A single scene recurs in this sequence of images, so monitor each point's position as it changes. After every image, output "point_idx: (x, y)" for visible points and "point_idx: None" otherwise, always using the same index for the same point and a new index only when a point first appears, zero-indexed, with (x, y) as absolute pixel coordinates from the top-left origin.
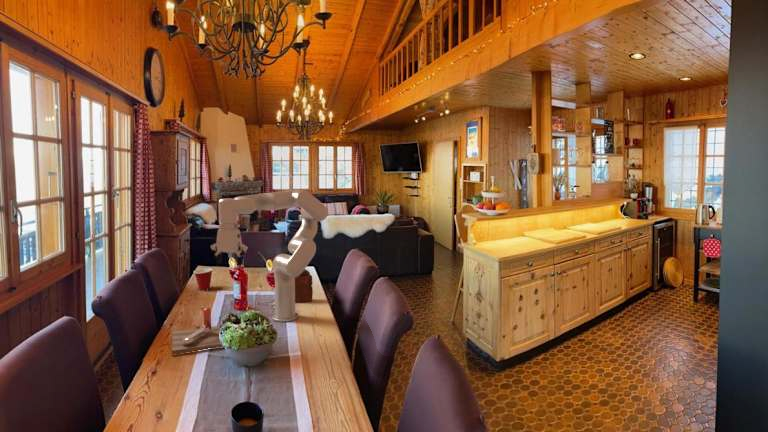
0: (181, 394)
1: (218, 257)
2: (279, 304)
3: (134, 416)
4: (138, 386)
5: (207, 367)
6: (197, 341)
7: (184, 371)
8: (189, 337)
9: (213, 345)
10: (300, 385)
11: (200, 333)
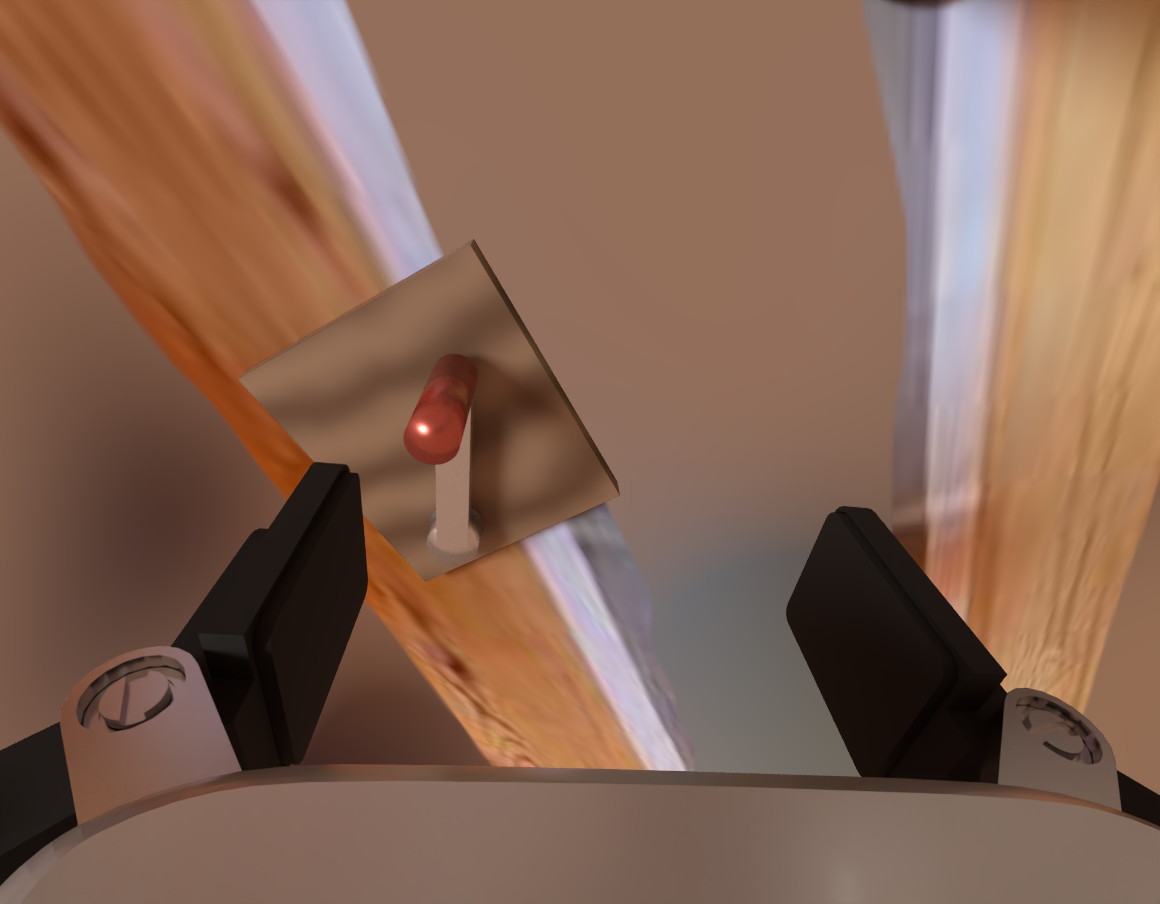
0: (619, 741)
1: (307, 734)
2: None
3: None
4: (472, 726)
5: (623, 626)
6: (477, 487)
7: (556, 653)
8: (453, 539)
9: (578, 512)
10: None
11: (470, 473)
